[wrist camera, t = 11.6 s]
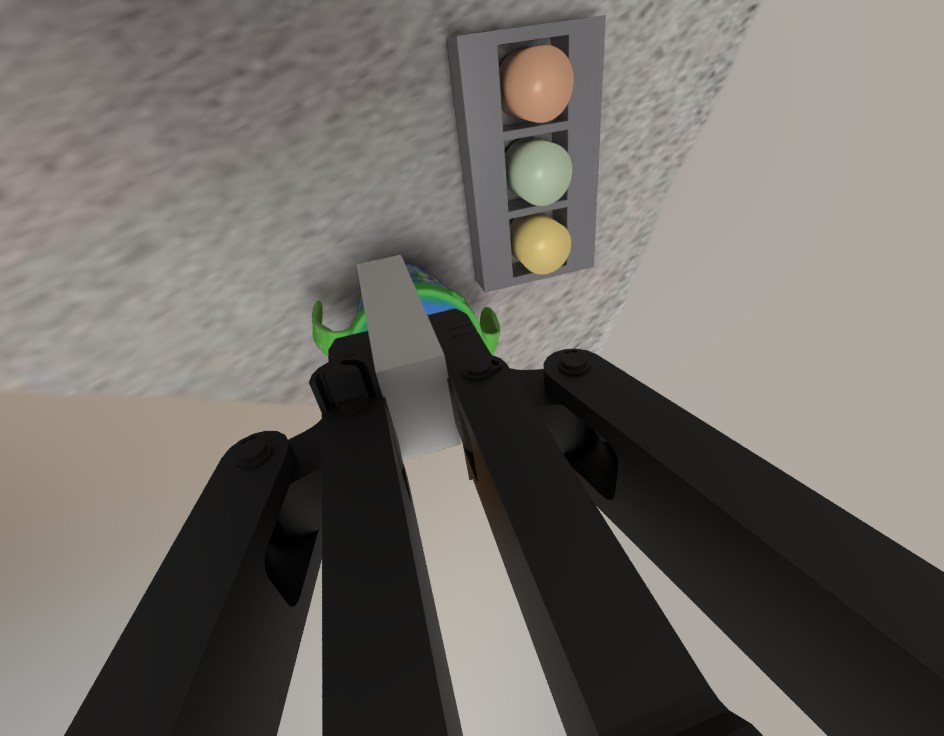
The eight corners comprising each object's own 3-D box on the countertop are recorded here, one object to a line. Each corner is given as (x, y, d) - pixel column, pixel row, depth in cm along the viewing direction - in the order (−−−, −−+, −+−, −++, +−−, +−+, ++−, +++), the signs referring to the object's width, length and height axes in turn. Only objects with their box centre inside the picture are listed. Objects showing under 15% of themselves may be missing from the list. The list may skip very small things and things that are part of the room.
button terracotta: (492, 52, 32) (511, 50, 29) (550, 43, 33) (574, 40, 30) (497, 122, 35) (515, 127, 32) (550, 113, 36) (573, 117, 33)
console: (446, 38, 32) (456, 35, 29) (585, 19, 33) (605, 15, 31) (475, 280, 43) (485, 292, 40) (578, 256, 44) (593, 266, 42)
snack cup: (308, 339, 41) (305, 404, 33) (318, 228, 36) (317, 272, 28) (462, 353, 47) (492, 412, 39) (490, 260, 42) (530, 304, 34)
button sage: (499, 141, 36) (516, 148, 33) (551, 132, 37) (572, 138, 33) (503, 199, 39) (519, 210, 35) (551, 189, 39) (571, 200, 36)
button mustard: (504, 215, 39) (520, 228, 36) (551, 205, 40) (571, 217, 37) (508, 263, 42) (523, 279, 39) (552, 253, 43) (570, 268, 40)
